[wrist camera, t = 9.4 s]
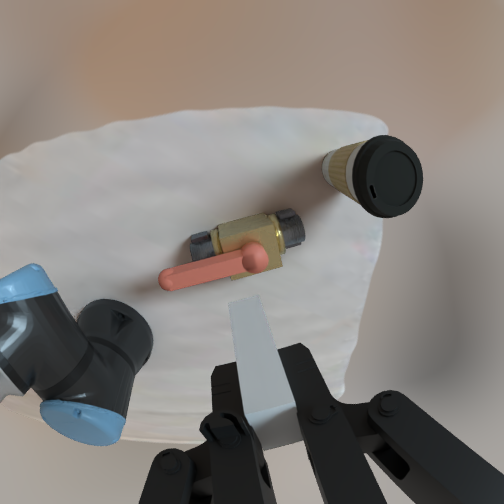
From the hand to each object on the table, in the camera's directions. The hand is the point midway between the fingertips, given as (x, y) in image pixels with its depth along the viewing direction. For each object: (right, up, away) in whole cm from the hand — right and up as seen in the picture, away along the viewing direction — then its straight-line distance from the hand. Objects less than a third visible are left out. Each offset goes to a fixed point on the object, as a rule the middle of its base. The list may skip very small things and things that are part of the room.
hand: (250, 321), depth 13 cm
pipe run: (-1, +6, +28) cm, 29 cm away
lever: (-5, +2, +21) cm, 22 cm away
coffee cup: (+14, +17, +27) cm, 34 cm away
